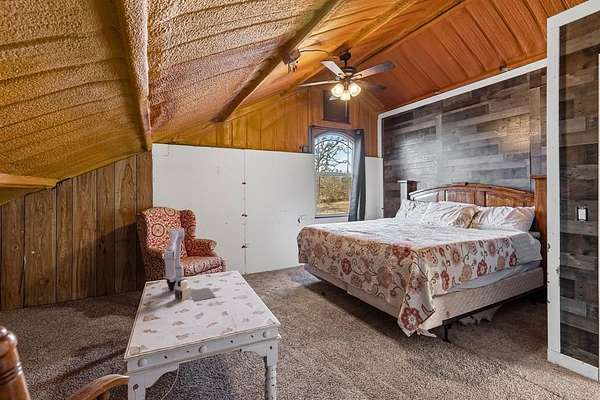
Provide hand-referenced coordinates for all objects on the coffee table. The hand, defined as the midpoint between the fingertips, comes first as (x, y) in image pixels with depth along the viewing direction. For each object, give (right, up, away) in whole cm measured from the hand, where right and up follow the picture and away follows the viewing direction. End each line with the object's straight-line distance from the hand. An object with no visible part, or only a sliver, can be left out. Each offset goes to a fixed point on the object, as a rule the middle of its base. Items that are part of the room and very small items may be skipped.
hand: (171, 289), depth 182 cm
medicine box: (+8, -6, +1) cm, 10 cm away
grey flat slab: (+18, -5, +7) cm, 20 cm away
